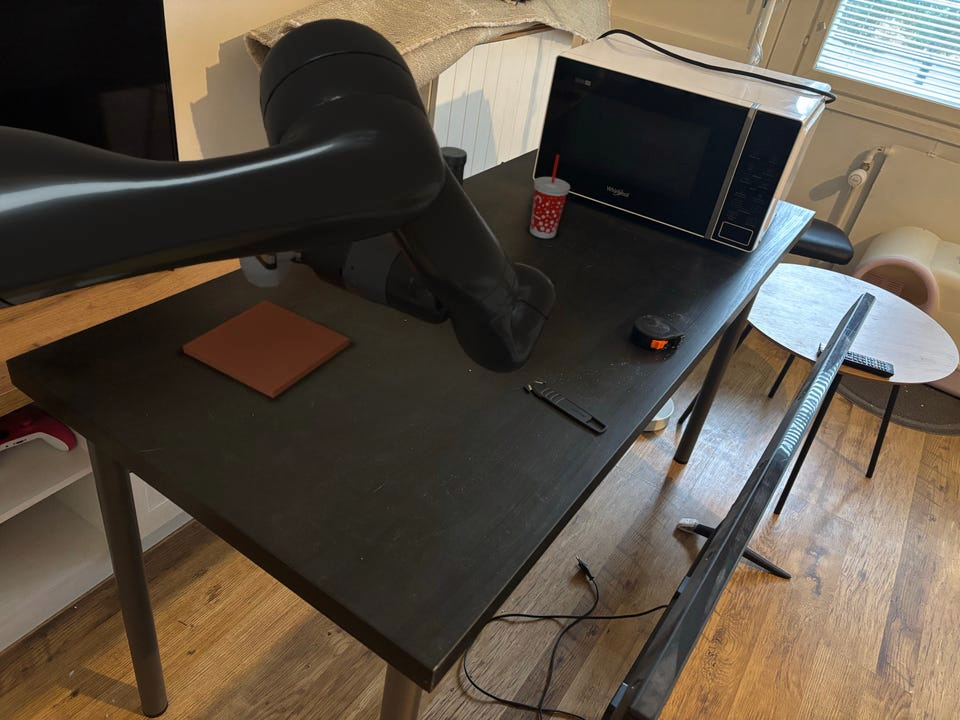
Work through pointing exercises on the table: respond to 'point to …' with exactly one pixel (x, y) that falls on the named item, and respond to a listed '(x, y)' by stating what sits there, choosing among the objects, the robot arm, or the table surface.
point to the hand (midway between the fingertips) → (244, 211)
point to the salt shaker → (264, 272)
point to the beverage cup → (548, 204)
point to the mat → (267, 347)
